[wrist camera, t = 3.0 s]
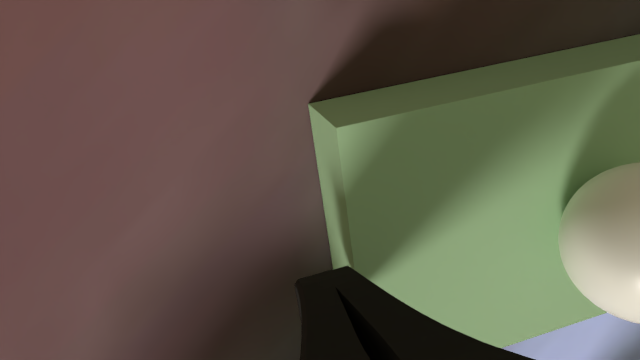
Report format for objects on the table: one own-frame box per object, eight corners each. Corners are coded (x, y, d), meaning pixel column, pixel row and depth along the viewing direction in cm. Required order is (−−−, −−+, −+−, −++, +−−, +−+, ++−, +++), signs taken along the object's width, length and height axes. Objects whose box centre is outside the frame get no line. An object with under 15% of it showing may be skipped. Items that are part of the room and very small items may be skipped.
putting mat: (804, 194, 21) (881, 220, 19) (343, 337, 17) (370, 391, 15) (860, -13, 18) (960, -11, 16) (308, 103, 14) (335, 128, 12)
